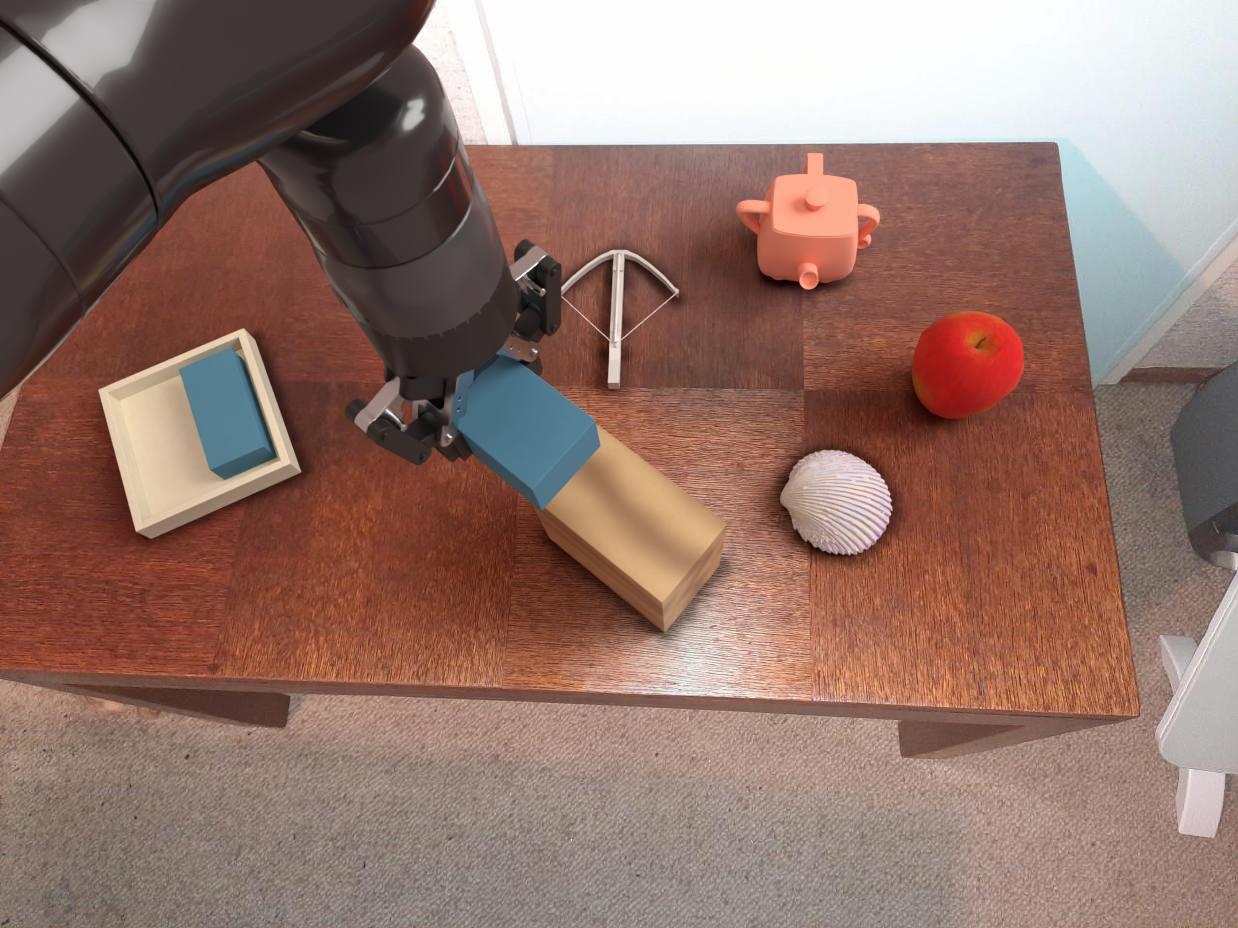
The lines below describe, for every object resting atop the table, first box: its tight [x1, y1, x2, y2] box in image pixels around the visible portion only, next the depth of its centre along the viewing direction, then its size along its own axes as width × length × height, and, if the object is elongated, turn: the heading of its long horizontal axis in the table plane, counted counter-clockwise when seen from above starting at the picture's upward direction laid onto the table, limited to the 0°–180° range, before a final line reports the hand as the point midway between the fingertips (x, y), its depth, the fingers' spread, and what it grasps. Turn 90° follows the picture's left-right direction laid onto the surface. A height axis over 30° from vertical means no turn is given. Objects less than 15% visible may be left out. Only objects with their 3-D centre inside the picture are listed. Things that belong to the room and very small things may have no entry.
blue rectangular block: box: [406, 355, 601, 511], centre depth 52 cm, size 6×12×4 cm, turn 50°
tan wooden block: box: [530, 423, 728, 633], centre depth 73 cm, size 8×14×14 cm, turn 50°
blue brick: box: [179, 348, 277, 480], centre depth 85 cm, size 6×12×3 cm, turn 25°
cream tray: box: [98, 327, 302, 540], centre depth 86 cm, size 16×17×3 cm
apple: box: [911, 310, 1025, 420], centre depth 78 cm, size 9×9×12 cm
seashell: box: [779, 449, 893, 556], centre depth 79 cm, size 10×6×10 cm
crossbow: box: [561, 249, 680, 390], centre depth 88 cm, size 16×13×2 cm
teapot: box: [735, 152, 881, 290], centre depth 85 cm, size 12×12×10 cm
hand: (492, 413), depth 54 cm, fingers closed on blue rectangular block, 5 cm apart
